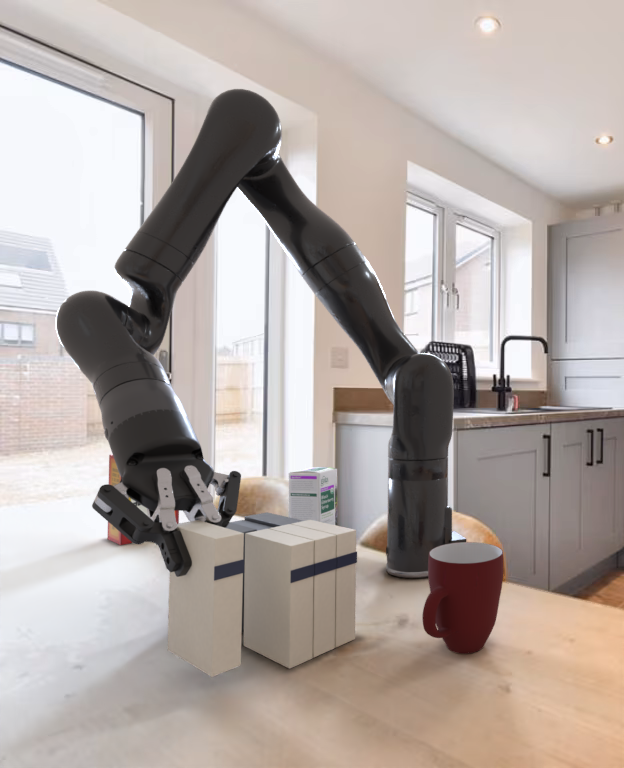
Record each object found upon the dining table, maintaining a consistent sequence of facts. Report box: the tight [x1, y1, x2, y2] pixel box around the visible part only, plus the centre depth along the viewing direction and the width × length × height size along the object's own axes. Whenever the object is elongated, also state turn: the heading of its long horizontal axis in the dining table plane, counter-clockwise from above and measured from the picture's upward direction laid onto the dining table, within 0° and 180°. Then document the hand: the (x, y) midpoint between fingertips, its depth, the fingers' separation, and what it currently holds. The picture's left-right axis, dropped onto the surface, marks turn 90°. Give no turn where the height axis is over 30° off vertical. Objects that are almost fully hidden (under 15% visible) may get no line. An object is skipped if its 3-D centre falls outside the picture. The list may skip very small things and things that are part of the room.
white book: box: [167, 520, 244, 678], centre depth 51 cm, size 3×9×12 cm, turn 55°
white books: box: [243, 520, 358, 670], centre depth 59 cm, size 8×9×12 cm
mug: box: [422, 541, 504, 655], centre depth 57 cm, size 10×8×10 cm
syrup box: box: [288, 466, 339, 526], centre depth 90 cm, size 6×6×14 cm
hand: (203, 565), depth 51 cm, fingers closed on white book, 2 cm apart
